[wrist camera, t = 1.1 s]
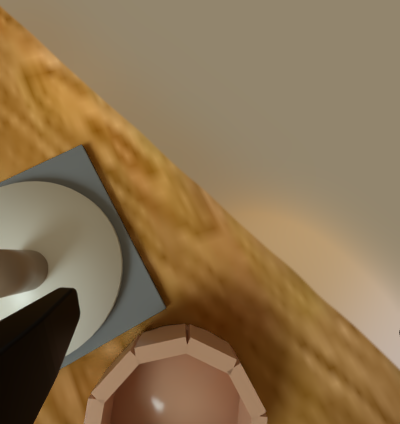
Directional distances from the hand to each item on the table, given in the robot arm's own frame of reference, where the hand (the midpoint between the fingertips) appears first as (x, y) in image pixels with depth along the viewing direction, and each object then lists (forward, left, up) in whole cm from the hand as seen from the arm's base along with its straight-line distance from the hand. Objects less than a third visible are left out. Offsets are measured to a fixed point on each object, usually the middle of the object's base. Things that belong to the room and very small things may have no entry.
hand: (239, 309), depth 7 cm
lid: (-11, +6, -14) cm, 19 cm away
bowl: (-6, -8, -15) cm, 18 cm away
